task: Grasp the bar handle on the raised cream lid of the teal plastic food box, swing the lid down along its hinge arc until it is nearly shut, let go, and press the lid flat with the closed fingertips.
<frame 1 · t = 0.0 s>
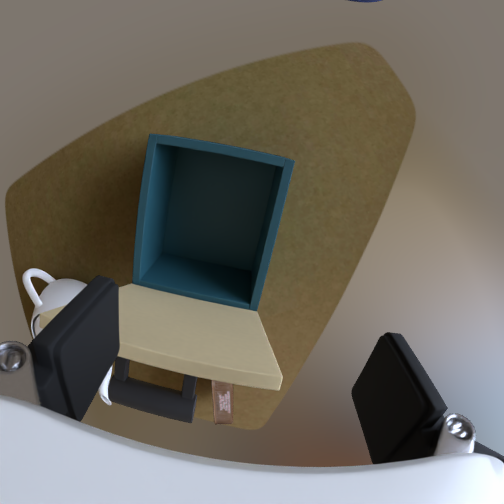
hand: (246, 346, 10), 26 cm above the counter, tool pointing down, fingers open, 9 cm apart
tin: (225, 361, 42), on the counter
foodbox: (216, 207, 34), on the counter
lid: (172, 347, 20), point 17 cm above the counter, hinge at 70.0°
teapot: (88, 315, 40), on the counter
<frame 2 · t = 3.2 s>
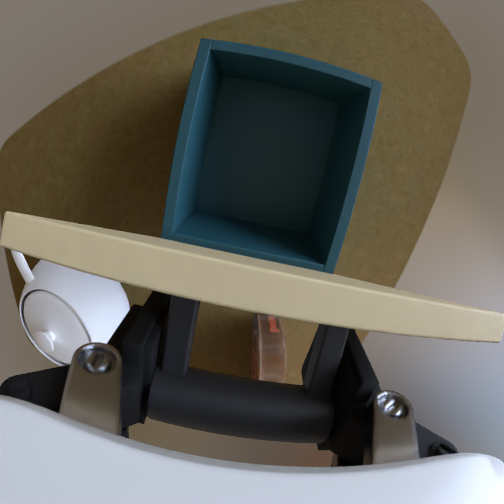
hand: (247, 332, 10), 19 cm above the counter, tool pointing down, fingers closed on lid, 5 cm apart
tin: (264, 352, 35), on the counter
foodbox: (266, 153, 27), on the counter
lid: (245, 316, 13), point 17 cm above the counter, hinge at 70.0°, touching gripper
teapot: (92, 298, 33), on the counter
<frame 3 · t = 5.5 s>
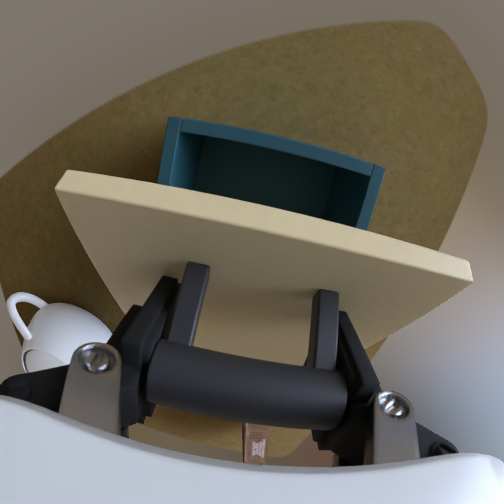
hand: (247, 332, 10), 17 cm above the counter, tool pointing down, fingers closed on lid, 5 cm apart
tin: (255, 394, 35), on the counter
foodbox: (254, 219, 26), on the counter
lid: (235, 365, 13), point 15 cm above the counter, hinge at 35.6°, touching gripper
teapot: (90, 342, 33), on the counter
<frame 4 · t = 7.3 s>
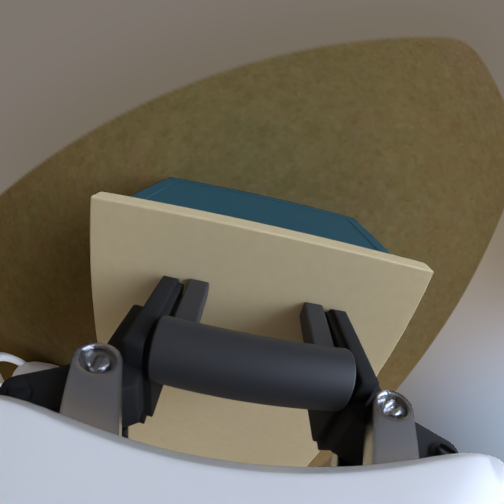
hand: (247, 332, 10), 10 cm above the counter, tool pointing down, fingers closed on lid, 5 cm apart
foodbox: (240, 293, 22), on the counter
lid: (226, 422, 11), point 12 cm above the counter, hinge at 2.4°, touching gripper
teapot: (73, 395, 28), on the counter
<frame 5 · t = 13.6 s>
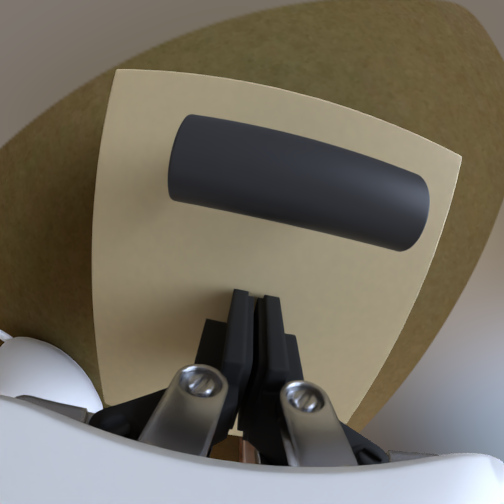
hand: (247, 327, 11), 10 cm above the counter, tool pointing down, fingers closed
tin: (253, 440, 28), on the counter
lid: (249, 343, 9), point 11 cm above the counter, hinge at -0.2°, touching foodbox, gripper
teapot: (63, 379, 26), on the counter
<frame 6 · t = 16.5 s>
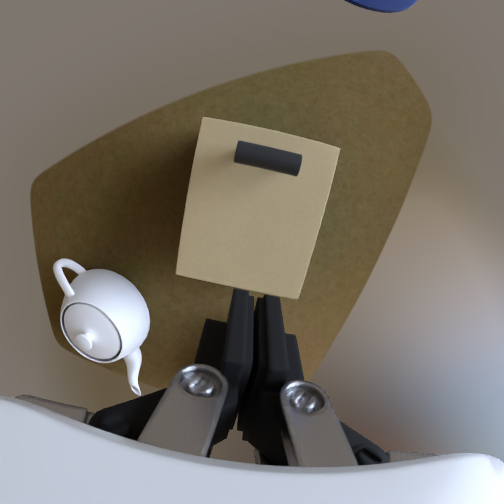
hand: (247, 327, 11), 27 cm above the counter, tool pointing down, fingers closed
lid: (253, 217, 25), point 11 cm above the counter, hinge at -0.2°, touching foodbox
teapot: (117, 306, 42), on the counter
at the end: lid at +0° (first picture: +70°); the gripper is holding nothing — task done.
